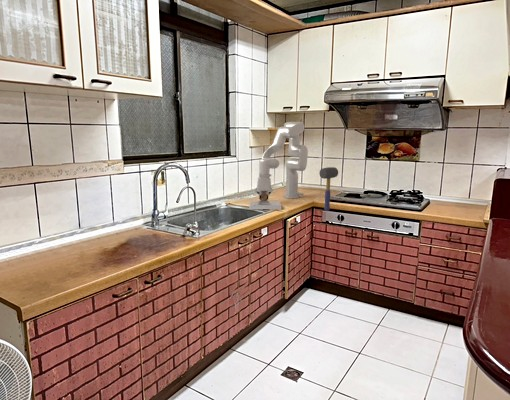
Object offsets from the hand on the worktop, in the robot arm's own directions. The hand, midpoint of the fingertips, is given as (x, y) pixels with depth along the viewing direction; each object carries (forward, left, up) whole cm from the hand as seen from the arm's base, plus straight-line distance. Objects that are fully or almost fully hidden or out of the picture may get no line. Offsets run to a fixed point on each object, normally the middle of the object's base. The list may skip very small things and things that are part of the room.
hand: (263, 200), depth 269 cm
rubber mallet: (-42, +24, -2) cm, 48 cm away
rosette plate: (0, +14, -2) cm, 14 cm away
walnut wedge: (0, 0, -2) cm, 2 cm away
